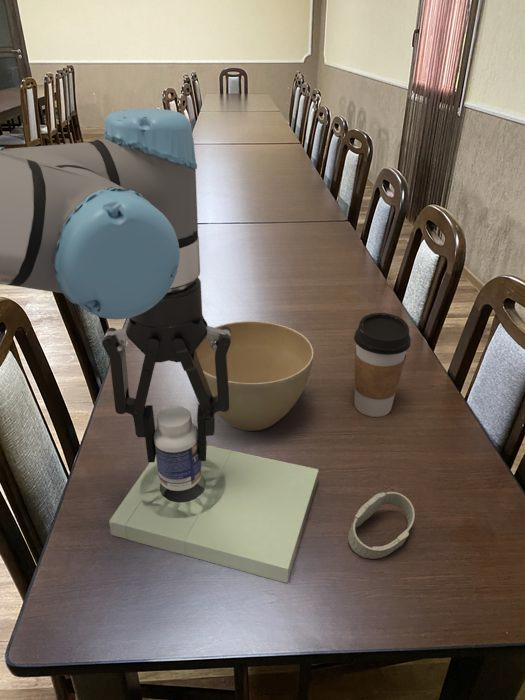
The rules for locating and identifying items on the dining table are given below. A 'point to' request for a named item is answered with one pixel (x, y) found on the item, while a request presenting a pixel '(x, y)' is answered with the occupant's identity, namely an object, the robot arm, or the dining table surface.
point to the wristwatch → (368, 510)
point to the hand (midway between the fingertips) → (178, 453)
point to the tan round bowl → (260, 372)
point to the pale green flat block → (225, 513)
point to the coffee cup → (379, 361)
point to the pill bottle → (177, 449)
